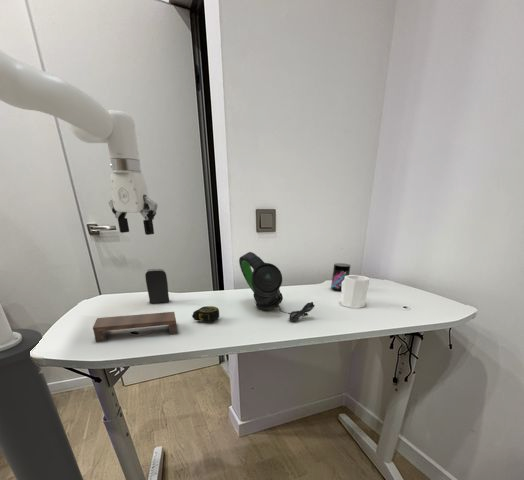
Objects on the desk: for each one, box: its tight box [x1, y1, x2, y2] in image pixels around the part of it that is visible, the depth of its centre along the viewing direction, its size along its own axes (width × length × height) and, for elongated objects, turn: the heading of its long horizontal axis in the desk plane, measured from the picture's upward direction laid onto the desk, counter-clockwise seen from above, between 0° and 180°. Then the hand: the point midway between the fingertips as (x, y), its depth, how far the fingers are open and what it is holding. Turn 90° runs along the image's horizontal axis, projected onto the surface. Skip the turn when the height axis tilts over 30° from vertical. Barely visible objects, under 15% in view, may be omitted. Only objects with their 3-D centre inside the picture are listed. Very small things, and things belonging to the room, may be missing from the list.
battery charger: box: [144, 268, 170, 304], centre depth 101 cm, size 7×4×11 cm, turn 109°
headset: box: [238, 251, 315, 322], centre depth 95 cm, size 18×14×29 cm
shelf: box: [92, 311, 178, 343], centre depth 79 cm, size 20×7×4 cm, turn 109°
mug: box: [340, 274, 370, 309], centre depth 106 cm, size 12×9×10 cm
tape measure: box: [191, 305, 220, 323], centre depth 88 cm, size 7×7×4 cm
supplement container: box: [330, 262, 352, 292], centre depth 122 cm, size 7×7×10 cm
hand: (137, 233), depth 89 cm, fingers open, 9 cm apart
